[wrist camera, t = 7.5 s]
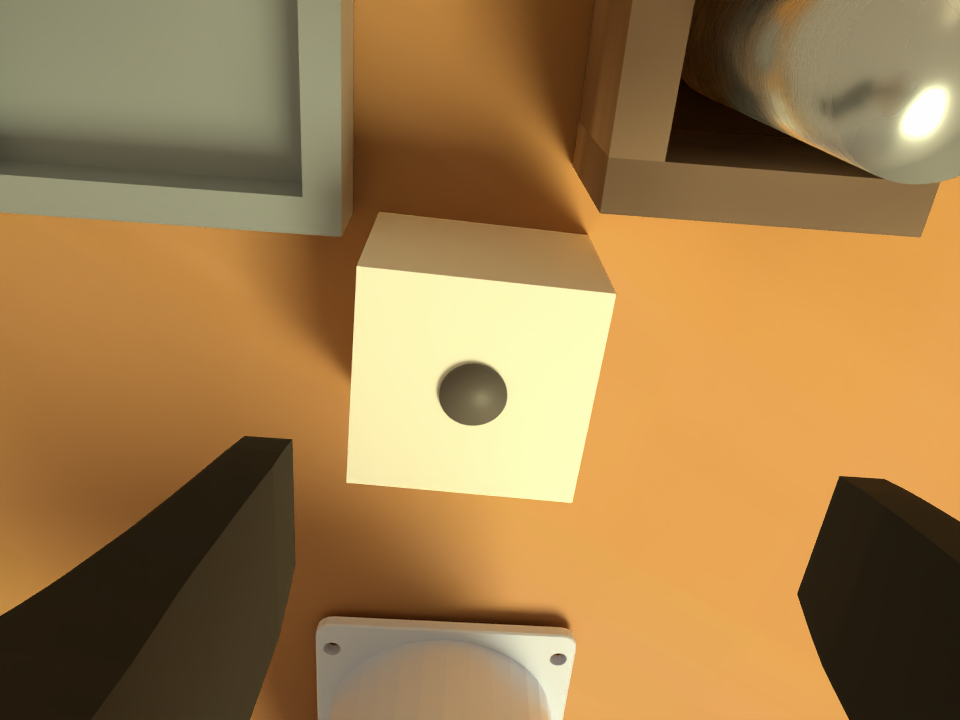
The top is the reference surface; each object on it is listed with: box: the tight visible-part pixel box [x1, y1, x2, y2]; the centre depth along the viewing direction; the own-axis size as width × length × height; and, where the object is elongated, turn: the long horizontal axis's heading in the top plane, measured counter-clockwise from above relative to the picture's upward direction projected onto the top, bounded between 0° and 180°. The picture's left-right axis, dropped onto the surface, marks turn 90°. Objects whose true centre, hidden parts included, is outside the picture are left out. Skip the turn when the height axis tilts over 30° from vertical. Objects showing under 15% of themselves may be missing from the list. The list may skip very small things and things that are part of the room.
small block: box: [346, 212, 616, 503], centre depth 17 cm, size 5×5×4 cm
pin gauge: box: [681, 0, 960, 184], centre depth 12 cm, size 3×3×8 cm
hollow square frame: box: [573, 0, 940, 237], centre depth 14 cm, size 6×6×4 cm
